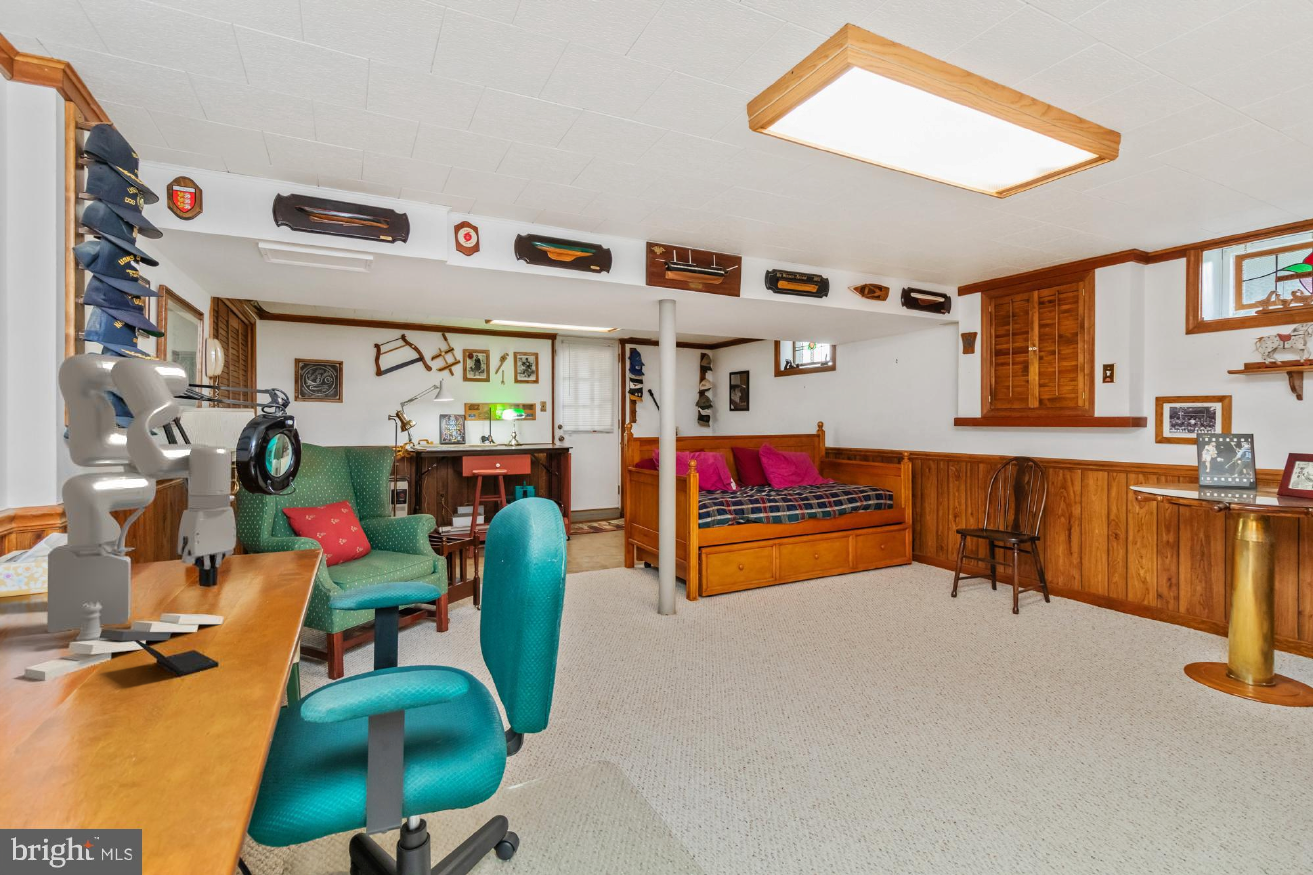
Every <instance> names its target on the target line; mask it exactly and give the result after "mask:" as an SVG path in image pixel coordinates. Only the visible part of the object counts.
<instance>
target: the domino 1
mask: <svg viewBox="0 0 1313 875" xmlns="http://www.w3.org/2000/svg"><path fill="white" fill-rule="evenodd" d="M107 660H108V661H110V660H112V652H110V653H101V654H83V653H72V654H69V655H66V656H62V657H59V658H55V659H52V660H48V661H46V662H45V661H44V662H42V663H39V664H35V665H31V666H28V667H25V668H24V678H30V679H33V680H34V679H35V680H40V681H48V680H51V679H54V678H58V677H60V676H64V675H67V674H69V673H73V672H76V671H80V670H83V669H85V668H89V667H92V666H95V665H98V664H101V663H100V662H102V663H105V662H107ZM94 664H95V665H94ZM91 665H92V666H91ZM88 666H89V667H88Z"/></svg>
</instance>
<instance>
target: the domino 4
mask: <svg viewBox="0 0 1313 875" xmlns="http://www.w3.org/2000/svg"><path fill="white" fill-rule="evenodd" d="M199 625H200V624H175V623H167V622H160V621H148V620H147V621H146V620H144V621H143V620H141V621H140V620H133V621H132V623H131V627H130V629H131V630H139V631H147V632H171V633H197V631H198V628H199Z"/></svg>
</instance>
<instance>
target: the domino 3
mask: <svg viewBox="0 0 1313 875" xmlns="http://www.w3.org/2000/svg"><path fill="white" fill-rule="evenodd" d="M101 629H102V631H101V634H100V637H99V638H103V639H112V640H120V641H133V640H146V641H170V639H171V635H172V632H147V631H139V630H131V628H129V629H128V628H127V629H125V628H124V629H122V628H120V629H117V628H113V629H112V628H111V629H110V628H101Z"/></svg>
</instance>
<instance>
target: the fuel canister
mask: <svg viewBox="0 0 1313 875" xmlns="http://www.w3.org/2000/svg"><path fill="white" fill-rule="evenodd" d="M145 511H146V508H145V507H141V508H137V510H136V511H135V512H134V513H133V514H132V515H130V516H129V517H128V518H127V520H126V521H125V522H124V523H123V526H122V529H121V533H120V536H119V538H117V539H116V540H115V541H110V542H104V543H100V544H87V545H73V546H72V545H59V546H56V547H54V548H53V549H52V550H51V551H50V552H49V553H48V554H47V608H46V609H47V613H46V615H47V618H46V619H47V620H46V621H47V626H46V627H47V628H46V629H47V630H46V631H47V632H48V633H51V634H55V633H61V632H60V631H63V632H69V631H68V630H71V629H78V630H81V628H82V624H83V619H82V616H83V613H82V612H81V611H80V609H81V608H82V607H83V604H85V603H87V605H89V602H93V604H95V602H100V605H101V606H102V608H101V609H100V611H99V614H101V615H100V616H99V622H100V626H101V625H109V626H115V625H114V624H116V625H123V624H126V623H128V622H129V619H130V617H131V585H132V584H131V574H132V572H131V571H132V569H131V567H132V566H131V564H132V562H131V561H132V560H131V558H130V556H127V555H126V553H127V552H130V551H132V550H135V549H136V547H125V542H126V535H127V534H128V531H129V528H130V526H131V525H132V523H134V522H135V521H136V520H137V519H138V517H139V516H140V515H141V514H143V513H144V512H145ZM118 539H119V540H118ZM117 541H118V544H116V543H117ZM105 543H107V544H105ZM101 544H103V545H106V546H109V547H111V548H112V549H111V552H108V551H107V550H106V549H105V548H104V547H103V546H102V545H101ZM114 547H117V549H114ZM91 550H97V551H98V552H99V553H82V554H81V553H80V552H79V551H91ZM101 627H102V626H101ZM71 631H72V630H71Z"/></svg>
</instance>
